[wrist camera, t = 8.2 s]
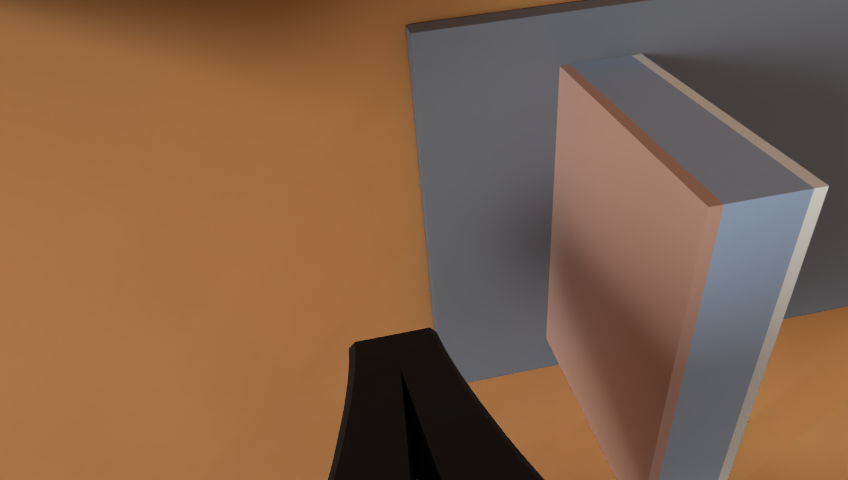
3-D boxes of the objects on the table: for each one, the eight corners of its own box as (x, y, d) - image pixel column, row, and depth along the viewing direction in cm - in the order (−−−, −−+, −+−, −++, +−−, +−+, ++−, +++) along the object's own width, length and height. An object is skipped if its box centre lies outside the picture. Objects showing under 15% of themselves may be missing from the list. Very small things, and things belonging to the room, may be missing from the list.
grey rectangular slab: (919, 277, 18) (934, 288, 18) (438, 373, 16) (442, 387, 16) (1089, -70, 13) (1116, -65, 12) (405, 24, 11) (409, 33, 11)
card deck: (607, 326, 16) (719, 505, 12) (546, 338, 16) (638, 523, 12) (640, 54, 12) (829, 185, 8) (559, 65, 12) (708, 206, 8)
